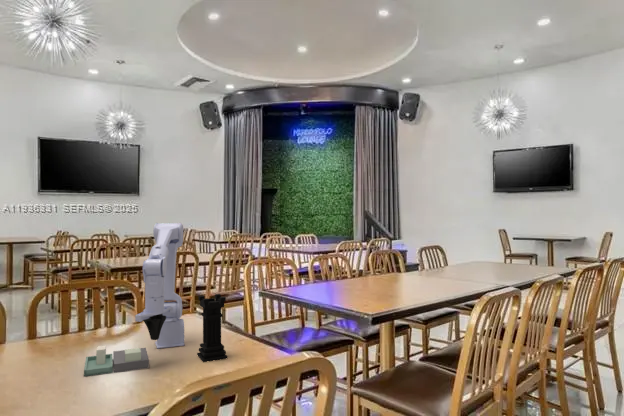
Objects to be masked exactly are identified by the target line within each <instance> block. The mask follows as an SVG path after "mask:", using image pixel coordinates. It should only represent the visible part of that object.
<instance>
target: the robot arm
mask: <svg viewBox="0 0 624 416" xmlns="http://www.w3.org/2000/svg"><path fill="white" fill-rule="evenodd" d="M153 239H154V240H155V245H153V246H152V247H151V249H150V252H149V255H148V257H147V259H146V260H143V263H142V275H143V283H144V295H145V296H144V309H142V311H141V312H140V313H137V314H135V315H134V317H135V319H134V321H135V322H138V323H139V322H143V323H144V324H145V327H146V328H147V330H148V333H149V334H148V335H149V337H150V340H152V341H154V344H155V347H156V349H167V348H173V347H181V346H182V347H183V346H185V321H184V318H182V315H183V299H182V297H181V295H179V294H178V293H176V292H175V290H176V289H175V288H176V287H175V286H176V266H177V253H178V248H180V247H181V246H183V243H184V224H183V223H182V222H171V223H170V222H169V223H168V222H164V223H162V222H155V224H154V225H153Z"/></svg>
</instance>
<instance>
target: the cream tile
mask: <svg viewBox="0 0 624 416" xmlns="http://www.w3.org/2000/svg"><path fill="white" fill-rule="evenodd" d="M95 353H96V355H95V356H96V365H98V364H105V362H106V354H107V345H98V346H97V347H96V351H95Z"/></svg>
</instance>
